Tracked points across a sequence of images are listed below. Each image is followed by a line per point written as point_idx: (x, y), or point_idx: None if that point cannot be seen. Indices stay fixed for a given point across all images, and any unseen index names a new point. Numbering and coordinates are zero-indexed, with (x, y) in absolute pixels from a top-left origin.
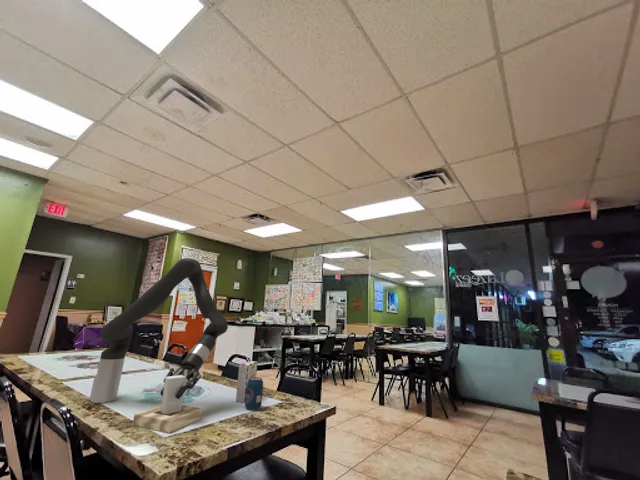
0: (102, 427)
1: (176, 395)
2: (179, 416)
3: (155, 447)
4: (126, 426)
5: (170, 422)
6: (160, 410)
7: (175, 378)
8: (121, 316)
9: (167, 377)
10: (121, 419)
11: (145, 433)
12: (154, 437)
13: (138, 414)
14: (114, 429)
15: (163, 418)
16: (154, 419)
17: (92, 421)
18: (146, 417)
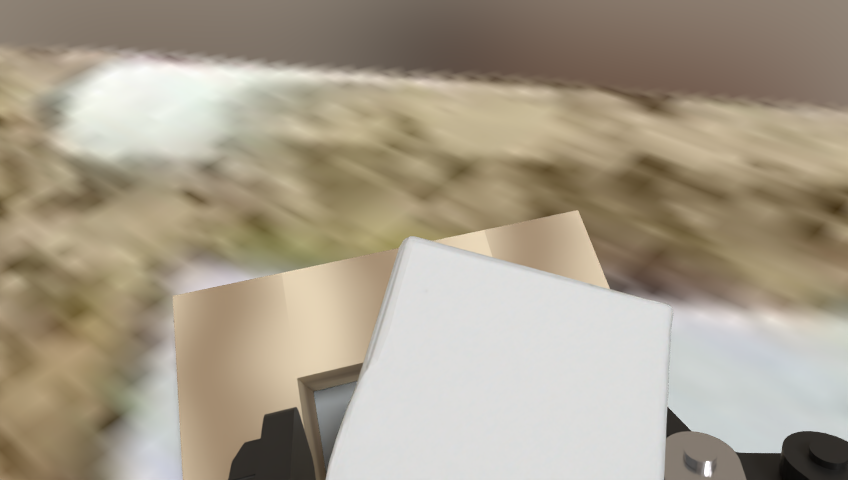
0: (647, 125)
1: (271, 414)
2: (212, 433)
3: (101, 153)
4: None
5: (176, 298)
6: None
7: (357, 392)
8: None
9: (555, 282)
10: (742, 259)
11: (345, 225)
12: (233, 224)
13: (553, 228)
14: (562, 149)
15: (294, 302)
16: (356, 259)
17: (805, 135)
18: (444, 239)
